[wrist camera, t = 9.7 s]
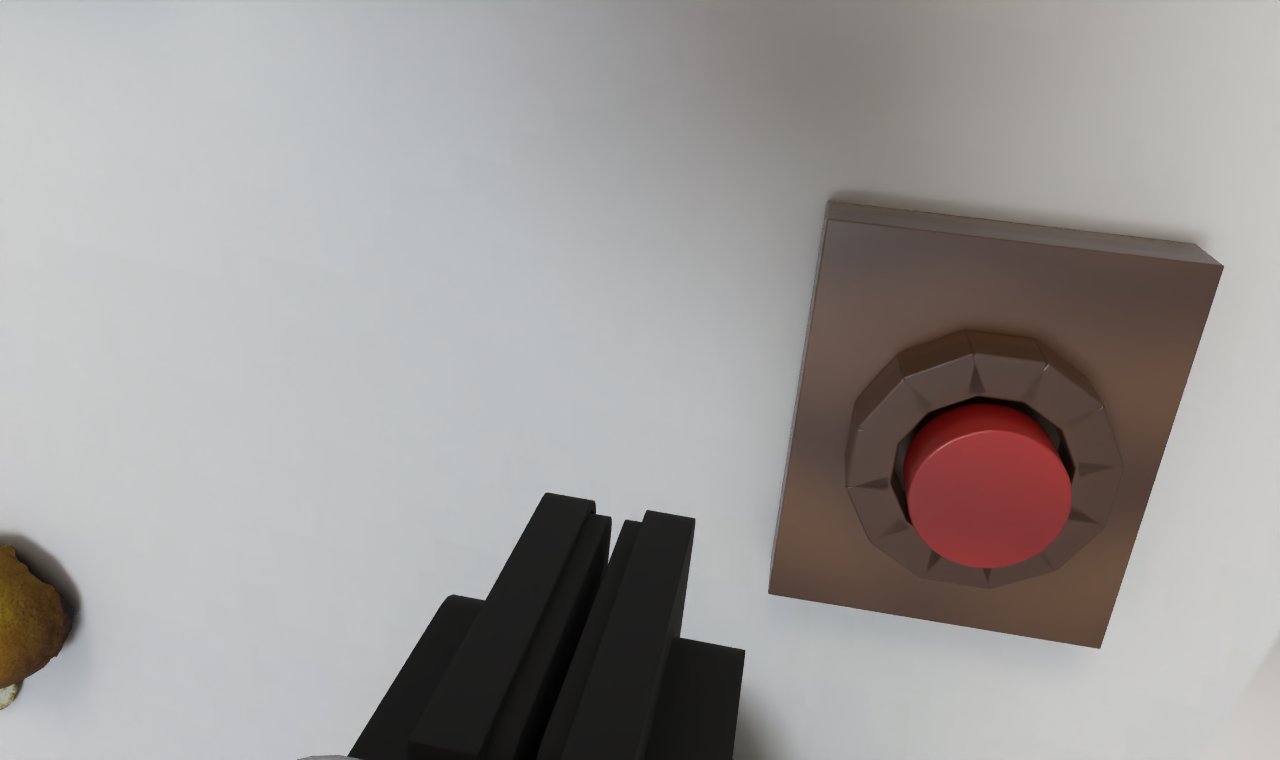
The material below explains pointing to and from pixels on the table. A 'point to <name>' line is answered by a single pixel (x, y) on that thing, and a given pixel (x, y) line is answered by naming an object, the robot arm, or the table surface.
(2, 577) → the golden rounded piece
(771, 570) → the control block
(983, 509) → the button
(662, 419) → the table surface
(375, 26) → the table surface
